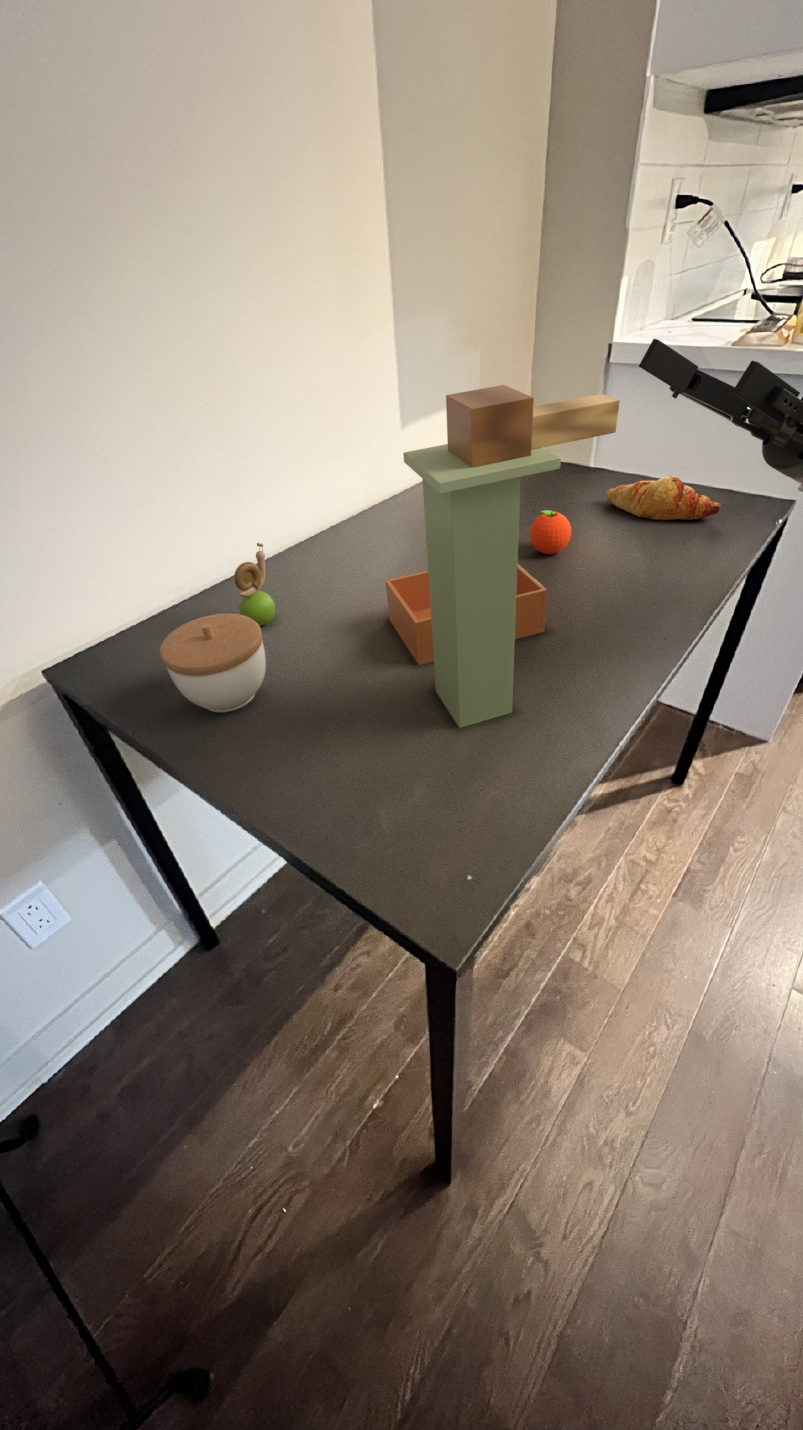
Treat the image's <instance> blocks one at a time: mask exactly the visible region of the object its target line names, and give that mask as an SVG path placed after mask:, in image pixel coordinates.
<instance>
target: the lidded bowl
mask: <svg viewBox="0 0 803 1430" xmlns="http://www.w3.org/2000/svg"><path fill="white" fill-rule="evenodd" d="M159 654H160V659H161V661H162V663H163V665H164V666H165V669H166V670H167V672H168V674H169V677H170V679H171V681H172V682H173V685H175V687H176V688H177V690H178V691H179V692H180V694H181V695H182V696H183V697H185V699H186V700H188V701H189V702H191V703H192V704H194V705H196V706H198V707H201V708H204V709H206V710H208V711H210V712H215V713H229V712H233V711H236V710H238V709H240V708H243V707H244V706H246V705H248V704H249V703H250V702H251V701H252V700H253V699H254V697H256V696H255V695H256V693H257V692H258V691H259V689H260V688H261V686H262V685H263V682H264V679H265V677H266V671H267V657H266V649H265V646H264V641H263V634H262V629H261V626H259V625H258V623H257V622H256V621H254V620H253V619H251V618H249V617H247V616H244V615H241V614H240V613H215V614H209V615H205V616H201V617H198V618H195V619H192V620H190V621H188V622H185V623H183V624H182V625H179V626H178V627H176V628H175V629H174V630H172V631H171V632H170V633H169V634H167V636H166V637H165V638H164V639H163V641H162V643H161V645H160V648H159Z"/></svg>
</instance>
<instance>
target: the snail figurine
mask: <svg viewBox="0 0 803 1430" xmlns="http://www.w3.org/2000/svg"><path fill="white" fill-rule="evenodd" d="M256 546H257V547H258V549H259V550H258V551H256V553H255V559H256V561H257V564H255V562H251V561H245V562H242V563H241V564H239V565H238V566H237V568H236V569H235V571H234V574H233V575H234V576H233V580H234V584H235V586H236V588H237V589H238V590H241V591H240V592H239V593H238V595H239V596H240V597H242V598H241V599H240V602H239V606H238V607H239V608H238V609H239V614H240V615H244V616H247V617H249V618H251V619H253V620H254V621H256V622H257V623H258V625H259V626H260V627H262V626H266V625H267V624H269V623H270V622H271V621H272V620H273V619H274V617H275V615H276V603H275V601H274V599H273V598H272V596H271V595H269V594H268V593H267V592H265V591H262V590H261V588H263V586H264V584H265V581H266V573H267V571H266V562H265V561H266V560H265V557H266V554H265V552H264V544H263V543H260V542H257V543H256ZM261 548H262V549H261Z"/></svg>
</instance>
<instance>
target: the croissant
mask: <svg viewBox="0 0 803 1430" xmlns="http://www.w3.org/2000/svg"><path fill="white" fill-rule="evenodd" d="M605 498H606V500H607V501H609V502H610V503H611V504H613V505H614V506H615V507H616V508H618V509H620V510H622V511H625V512H627V513H629V514H632V515H634V516H637V517H638V518H645V519H650V520H655V521H656V520H657V521H667V520H684V521H688V520H689V521H690V520H699V519H700V520H702V519H705V518H707V517H710V516H714V515H717V514H718V513H719V512H720V510H721V506H722V504H721V503H720V502H718V501H711V499H710V497H708V496H706V495H704V494H701V495H700V494H699V493H697V492H696V491H695V489H694V488H692V486H689V485H687V484H684V482H683V481H682V480H681V478H680V477H676V476H673V475H669V476H666V477H661V478H658V479H657V480H640V481H637V482H635V483H630V484H621V485H619V486H616V487H615V488H608V489H607V490H606V492H605Z"/></svg>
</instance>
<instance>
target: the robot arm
mask: <svg viewBox="0 0 803 1430" xmlns="http://www.w3.org/2000/svg"><path fill="white" fill-rule="evenodd" d="M638 367H639V368H640V369H642V370H644V371H645V372H646V373H649V374H650V375H652V376H653V377H655V378H657V379H658V380H660V381H661V382H663V383H664V384H666V385H668V386H669V387H668V389H669V390H670V391H671V392H672V394H671V398H672V399H675V400H677V398H678V397H679V395H681V396H682V397H684V398H686V399H688V400H690V401H692V402H693V403H695V404H698V405H699V406H701V407H703V408H704V409H707V410H709V411H710V412H713V413H715V414H717V415H718V416H720V417H723V418H725V420H727V421H729V422H730V423H732V424H733V425H734V426H736V427H739V428H741V429H743V430H745V431H747V432H749V433H750V435H751V436H752V437H753V438H756V439H758V440H760V441H762V443H761V454H762V457H763V460H764V461H765V463H766V464H767V465H768V466H769V467H771V468H772V469H774V470H776V471H777V472H779V473H780V474H782V475H784V476H786V477H788V478H790V479H791V480H793V481H795V482H797V483H799V486H798V488H797V490H798V491H799V492H802V493H803V394H802V395H801V396H800V394H801V392H800V391H799V390H797V389H796V388H795V387H793V386H792V385H790V383H788V382H786V381H785V380H784V379H782V378H781V377H780V376H778V375H777V374H775V373H774V372H773V371H771V370H770V369H769V368H767V367H766V366H764V365H763V364H762V363H760V362H759V361H755V360H751V361H750V363H748V366H747V367H746V369H745V370H744V372H743V374H742V375H741V377H740V379H739V380H738V382H737V383H736V385H732V384H729V383H727V382H725V381H723V380H721V379H718V378H717V377H714V376H712V375H711V374H709V373H706V372H705V371H703V370H700V369H698V368H699V366H698V365H697V364H695V362H692V360H690V359H688V358H687V357H685V356H684V355H682V354H680V353H679V352H678V351H676V350H675V349H673V348H671V347H670V346H668V345H667V344H666V343H664V342H663V341H661V340H660V339H657V338H653V339H652V341H651V343H650V344H649V346H648V348H647V350H646V351H645V353H644V355H643V357H642V359H641V361H640V363H639V365H638ZM799 396H800V398H799ZM746 421H747V422H746Z"/></svg>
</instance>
